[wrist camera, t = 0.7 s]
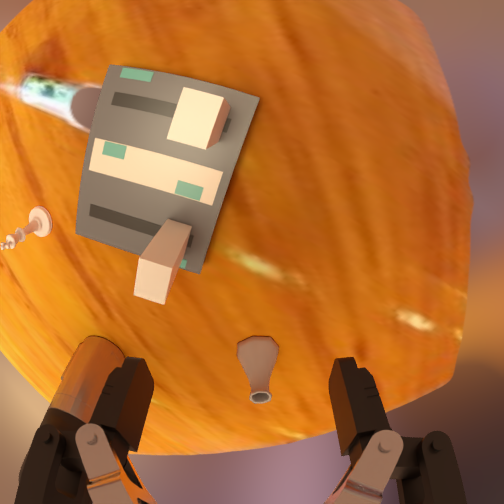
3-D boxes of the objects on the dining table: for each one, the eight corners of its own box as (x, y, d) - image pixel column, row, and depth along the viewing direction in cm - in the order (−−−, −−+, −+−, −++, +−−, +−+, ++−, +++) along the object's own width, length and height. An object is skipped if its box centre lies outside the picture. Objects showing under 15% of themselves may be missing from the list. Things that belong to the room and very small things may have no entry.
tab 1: (192, 226, 32) (172, 268, 23) (184, 255, 33) (164, 304, 24) (167, 218, 31) (139, 257, 22) (160, 248, 33) (133, 294, 24)
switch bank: (258, 100, 29) (260, 97, 26) (202, 263, 37) (199, 275, 35) (120, 68, 26) (109, 64, 23) (85, 225, 34) (74, 234, 32)
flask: (242, 367, 47) (242, 413, 38) (230, 339, 44) (228, 387, 35) (282, 359, 46) (289, 406, 37) (274, 330, 43) (281, 379, 34)
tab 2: (230, 107, 26) (224, 97, 17) (218, 142, 28) (205, 149, 19) (203, 99, 26) (183, 86, 17) (191, 134, 27) (166, 138, 18)
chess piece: (30, 203, 32) (-11, 226, 23) (52, 209, 33) (11, 235, 24) (31, 231, 34) (-7, 259, 25) (52, 238, 35) (15, 269, 26)
